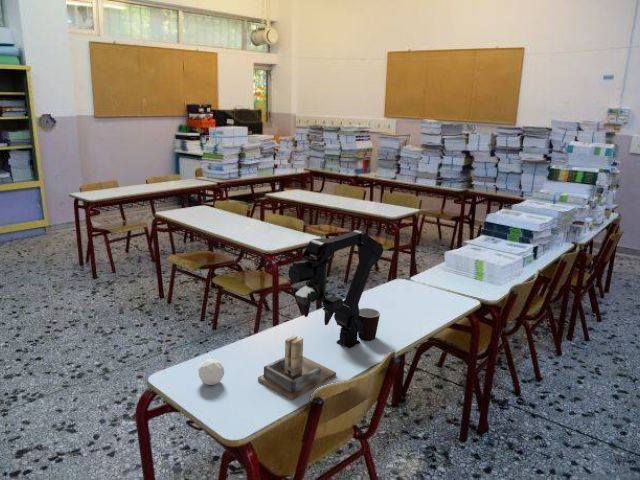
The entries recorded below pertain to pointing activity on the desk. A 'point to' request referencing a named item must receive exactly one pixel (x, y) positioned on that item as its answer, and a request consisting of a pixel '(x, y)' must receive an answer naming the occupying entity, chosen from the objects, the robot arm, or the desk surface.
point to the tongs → (293, 357)
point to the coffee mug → (368, 323)
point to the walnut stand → (293, 388)
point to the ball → (211, 371)
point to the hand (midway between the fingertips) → (316, 320)
